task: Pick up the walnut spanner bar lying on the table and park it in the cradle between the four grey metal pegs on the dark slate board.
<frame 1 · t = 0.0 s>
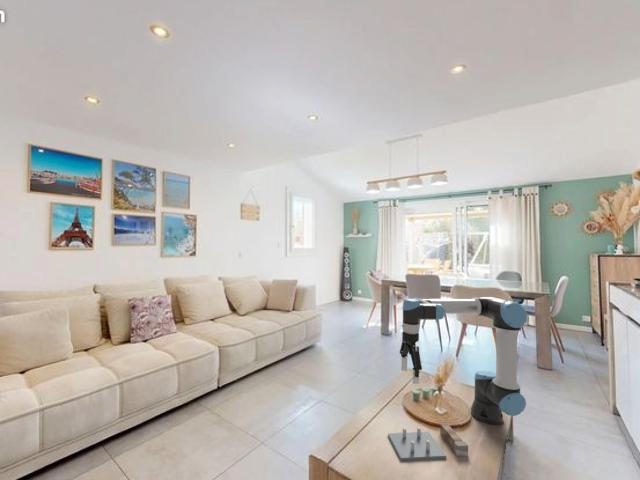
hand: (409, 376, 139), 28 cm above the table, fingers open, 13 cm apart
slate peg board: (415, 446, 131), on the table
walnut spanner: (451, 442, 135), on the table
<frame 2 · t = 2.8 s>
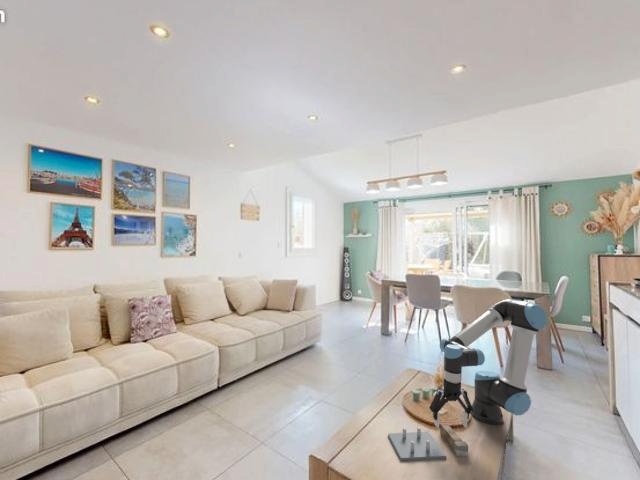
hand: (450, 426, 135), 7 cm above the table, fingers open, 13 cm apart
nothing on the table moved.
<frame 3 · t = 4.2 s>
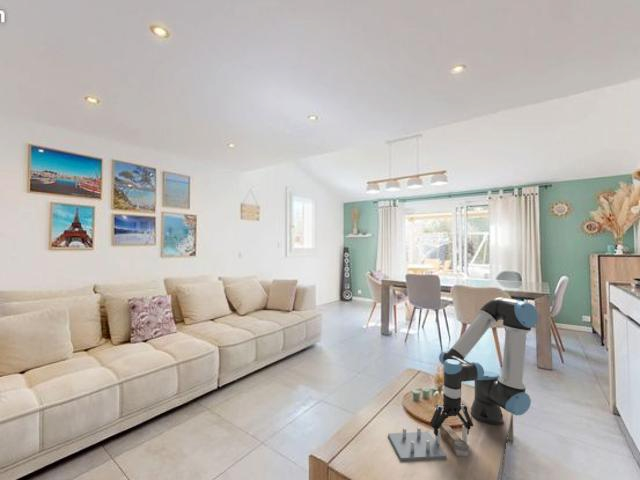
hand: (451, 441, 135), 0 cm above the table, fingers open, 12 cm apart
nothing on the table moved.
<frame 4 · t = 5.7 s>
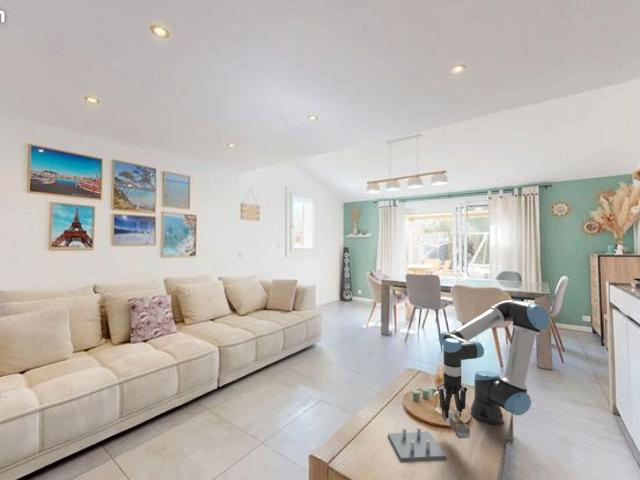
hand: (452, 424, 135), 8 cm above the table, fingers closed on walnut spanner, 3 cm apart
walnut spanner: (452, 425, 135), point 8 cm above the table, touching gripper
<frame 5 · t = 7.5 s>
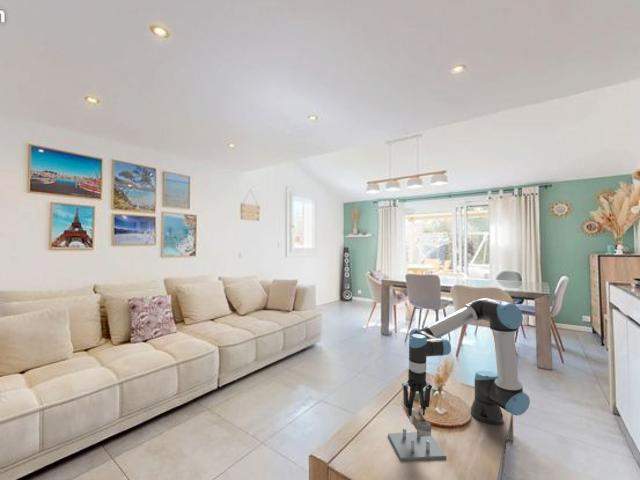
hand: (416, 422, 131), 11 cm above the table, fingers closed on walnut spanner, 3 cm apart
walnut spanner: (416, 423, 131), point 10 cm above the table, touching gripper
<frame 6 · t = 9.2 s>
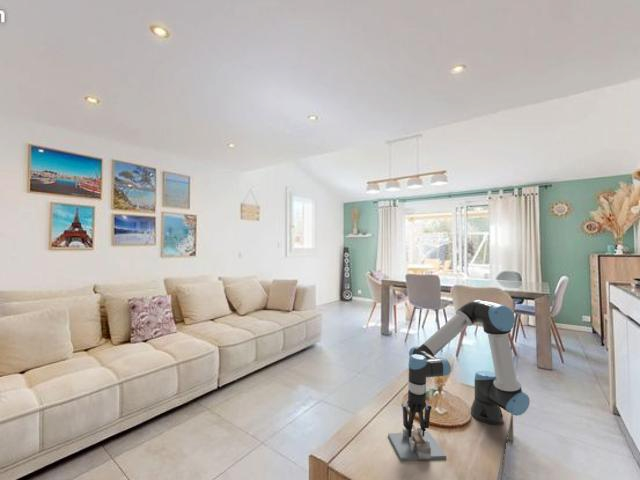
hand: (415, 443, 131), 1 cm above the table, fingers closed on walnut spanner, 4 cm apart
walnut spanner: (415, 444, 131), point 1 cm above the table, touching gripper, slate peg board
when the fingers open (1 cm above the table, at t = 9.7 s): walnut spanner stays where it is, resting on slate peg board.
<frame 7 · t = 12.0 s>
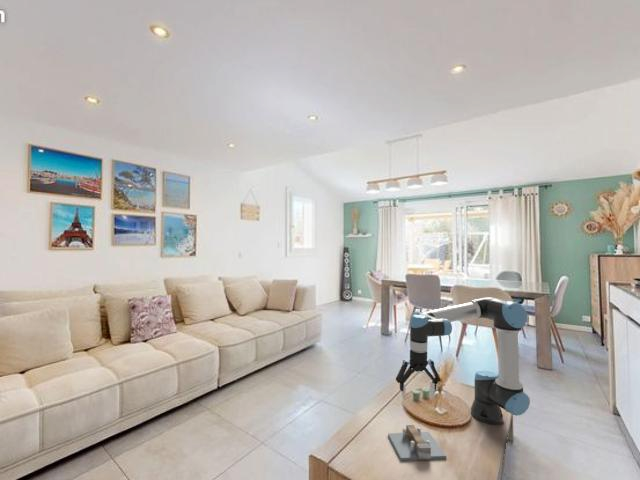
hand: (417, 397, 132), 22 cm above the table, fingers open, 13 cm apart
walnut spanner: (415, 444, 131), point 1 cm above the table, touching slate peg board
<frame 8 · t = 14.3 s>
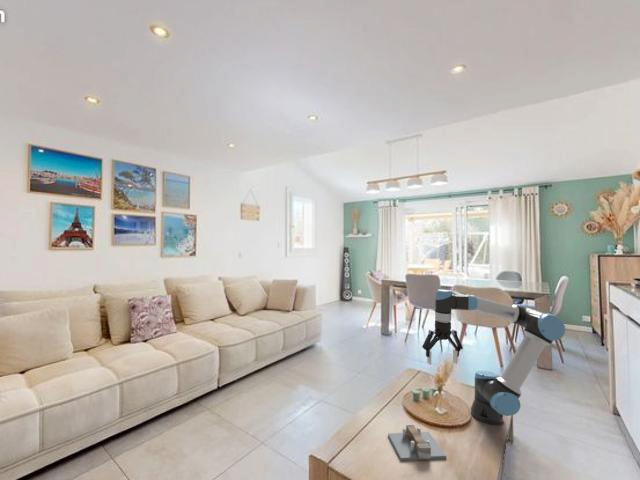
hand: (442, 363, 147), 32 cm above the table, fingers open, 13 cm apart
nothing on the table moved.
at the end: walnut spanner 0.1 cm off-centre on the slate peg board, point 1.2 cm above the slate peg board's base; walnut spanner tilted 0°; the gripper is holding nothing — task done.
